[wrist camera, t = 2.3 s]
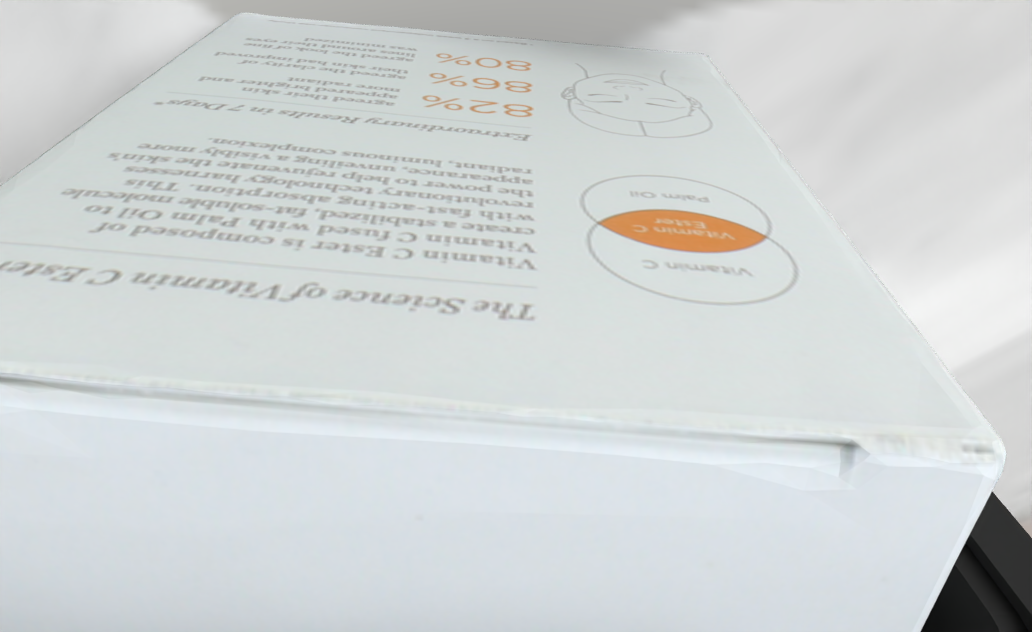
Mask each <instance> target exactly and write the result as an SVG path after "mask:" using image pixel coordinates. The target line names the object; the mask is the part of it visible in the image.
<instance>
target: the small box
mask: <svg viewBox="0 0 1032 632" xmlns="http://www.w3.org/2000/svg"><path fill="white" fill-rule="evenodd" d="M1005 459H1006V451H1005V448H1004V445H1003V441H1002V439H1001V438H1000V437H999V435H998V434H997V433H996V431H995V430H994V429H993V427H992V426H991V425H990V424H989V422H988V421H987V420H986V418H985V417H984V416H983V414H982V413H981V412H980V411H979V409H978V408H977V407H976V405H975V404H974V403H973V401H972V400H971V399H970V398H969V396H968V395H967V394H966V392H965V391H964V390H963V389H962V387H961V386H960V385H959V383H958V382H957V381H956V379H955V378H954V377H953V376H952V374H951V373H950V372H949V370H948V369H947V368H946V366H945V365H944V364H943V362H942V361H941V360H940V358H939V357H938V356H937V354H936V353H935V352H934V350H933V349H932V348H931V346H930V345H929V344H928V342H927V341H926V340H925V338H924V337H923V336H922V334H921V333H920V332H919V330H918V329H917V328H916V327H915V325H914V324H913V323H912V321H911V320H910V319H909V318H908V316H907V315H906V314H905V312H904V311H903V310H902V308H901V307H900V305H899V304H898V303H897V301H896V300H895V299H894V297H893V296H892V295H891V293H890V292H889V291H888V289H887V288H886V287H885V286H884V284H883V283H882V282H881V280H880V279H879V278H878V276H877V275H876V274H875V273H874V271H873V270H872V269H871V267H870V266H869V265H868V264H867V262H866V261H865V260H864V259H863V257H862V256H861V255H860V253H859V252H858V251H857V249H856V248H855V247H854V245H853V244H852V242H851V241H850V239H849V238H848V236H847V235H846V234H845V233H844V232H843V230H842V229H841V228H840V227H839V225H838V224H837V222H836V221H835V219H834V218H833V217H832V215H831V214H830V213H829V212H828V211H827V209H826V208H825V207H824V206H823V205H822V204H821V202H820V201H819V199H818V198H817V197H816V195H815V194H814V192H813V191H812V190H811V188H810V187H809V186H808V185H807V183H806V182H805V181H804V179H803V178H802V177H801V175H800V174H799V173H798V172H797V171H796V169H795V168H794V167H793V166H792V164H791V163H790V162H789V160H788V159H787V157H786V156H785V155H784V154H783V152H782V151H781V150H780V148H779V147H778V146H777V144H776V143H775V142H774V141H773V140H772V138H771V137H770V136H769V134H768V133H767V132H766V130H765V129H764V128H763V127H762V126H761V124H760V123H759V122H758V120H757V119H756V118H755V116H754V115H753V114H752V112H751V111H750V110H749V108H748V107H747V106H746V105H745V103H744V102H743V101H742V100H741V98H740V97H739V95H738V94H737V93H736V92H735V91H734V89H733V88H732V87H731V85H730V84H729V83H728V81H727V80H726V79H725V77H724V76H723V75H722V73H721V72H720V71H719V70H718V68H717V67H716V65H715V64H714V63H713V61H712V60H711V59H710V57H709V56H707V55H704V54H702V53H683V52H670V51H659V50H648V49H636V48H624V47H613V46H601V45H590V44H579V43H568V42H557V41H546V40H545V41H544V40H534V39H524V38H512V37H500V36H488V35H487V36H486V35H476V34H466V33H455V32H445V31H435V30H423V29H414V28H402V27H390V26H376V25H363V24H352V23H341V22H331V21H320V20H309V19H299V18H287V17H277V16H269V15H261V14H255V13H239V14H237V15H235V16H233V17H232V18H230V19H229V20H228V21H226V22H225V23H224V24H222V25H221V26H219V27H218V28H216V29H215V30H214V31H212V32H211V33H210V34H208V35H207V36H205V37H204V38H203V39H201V40H200V41H198V42H197V43H195V44H194V45H192V46H191V47H189V48H188V49H187V50H186V51H184V52H183V53H182V54H180V55H179V56H177V57H176V58H174V59H173V60H172V61H170V62H169V63H167V64H166V65H165V66H163V67H162V68H161V69H159V70H158V71H157V72H155V73H154V74H152V75H151V76H150V77H148V78H147V79H146V80H144V81H143V82H141V83H140V84H138V85H137V86H136V87H135V88H133V89H132V90H131V91H129V92H128V93H126V94H125V95H124V96H122V97H121V98H119V99H118V100H116V101H115V102H114V103H112V104H111V105H109V106H108V107H107V108H105V109H104V110H103V111H101V112H100V113H98V114H97V115H96V116H94V117H93V118H92V119H90V120H89V121H88V122H86V123H85V124H84V125H82V126H81V127H79V128H78V129H77V130H75V131H74V132H73V133H71V134H70V135H68V136H67V137H66V138H64V139H63V140H62V141H60V142H59V143H58V144H56V145H55V146H54V147H52V148H51V149H49V150H48V151H47V152H45V153H44V154H43V155H42V156H40V157H39V158H38V159H36V160H35V161H33V162H32V163H31V164H29V165H28V166H26V167H25V168H24V169H22V170H21V171H20V172H19V173H17V174H16V175H15V176H13V177H12V178H10V179H9V180H8V181H6V182H5V183H4V184H2V185H1V186H0V632H920V631H921V629H922V627H923V625H924V623H925V621H926V619H927V617H928V615H929V613H930V611H931V609H932V607H933V605H934V603H935V602H936V600H937V598H938V596H939V594H940V592H941V590H942V588H943V586H944V584H945V582H946V580H947V578H948V576H949V574H950V572H951V570H952V568H953V566H954V564H955V562H956V560H957V558H958V556H959V554H960V552H961V550H962V548H963V546H964V544H965V542H966V540H967V538H968V537H969V535H970V533H971V531H972V529H973V527H974V525H975V523H976V521H977V519H978V517H979V515H980V513H981V512H982V510H983V508H984V506H985V504H986V502H987V500H988V498H989V496H990V494H991V492H992V490H993V488H994V487H995V485H996V483H997V481H998V479H999V477H1000V475H1001V473H1002V471H1003V467H1004V463H1005Z"/></svg>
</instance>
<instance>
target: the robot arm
mask: <svg viewBox="0 0 1032 632" xmlns="http://www.w3.org/2000/svg"><path fill="white" fill-rule="evenodd" d="M920 632H1032V538H1031V537H1030V536H1029V534H1028V533H1027V532H1026V531H1025V530H1024V529H1023V528H1022V526H1021V525H1020V524H1019V523H1018V521H1017V520H1016V519H1015V518H1014V517H1013V516H1012V514H1011V513H1010V512H1009V511H1008V510H1007V508H1006V507H1005V506H1004V505H1003V504H1002V502H1001V501H1000V500H999V499H998V498H997V497H996V495H995V494H994V493H993V492H991V494H990V496H989V498H988V500H987V502H986V504H985V506H984V508H983V510H982V512H981V513H980V515H979V517H978V519H977V521H976V523H975V525H974V527H973V529H972V531H971V533H970V535H969V537H968V538H967V540H966V542H965V544H964V546H963V548H962V550H961V552H960V554H959V556H958V558H957V560H956V562H955V564H954V566H953V568H952V570H951V572H950V574H949V576H948V578H947V580H946V582H945V584H944V586H943V588H942V590H941V592H940V594H939V596H938V598H937V600H936V602H935V603H934V605H933V607H932V609H931V611H930V613H929V615H928V617H927V619H926V621H925V623H924V625H923V627H922V629H921V631H920Z"/></svg>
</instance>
